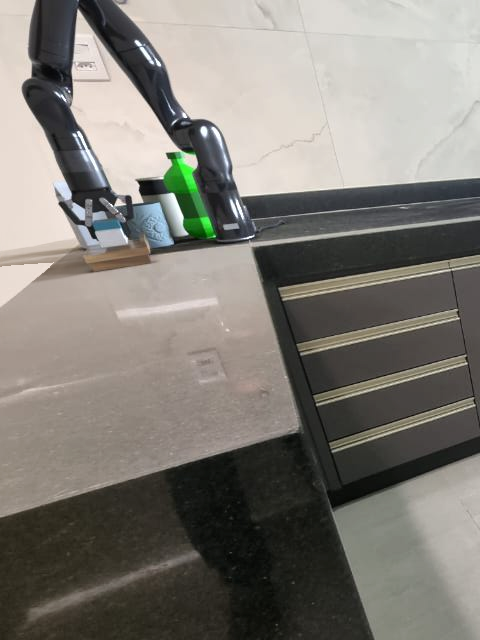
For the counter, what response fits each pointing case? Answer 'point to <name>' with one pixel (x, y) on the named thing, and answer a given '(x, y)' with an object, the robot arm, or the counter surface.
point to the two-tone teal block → (109, 232)
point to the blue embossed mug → (149, 223)
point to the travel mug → (163, 202)
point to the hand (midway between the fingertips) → (113, 238)
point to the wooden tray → (119, 254)
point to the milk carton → (79, 230)
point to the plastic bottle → (187, 197)
